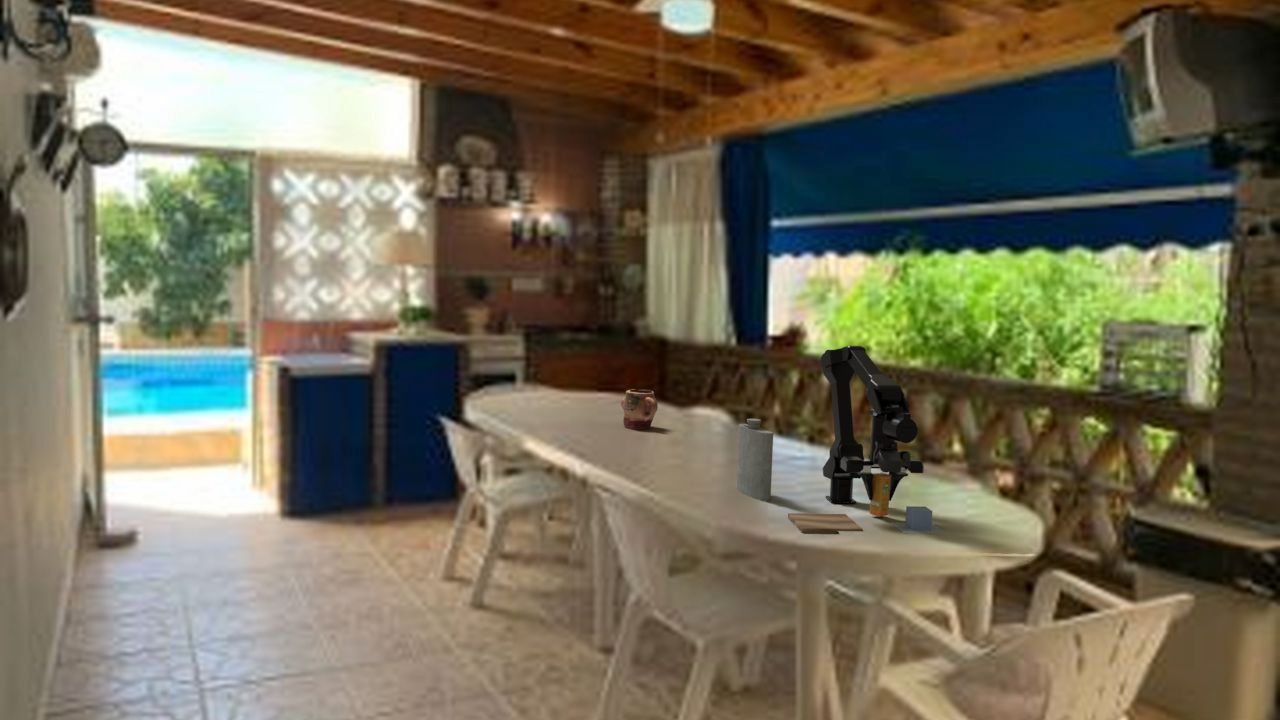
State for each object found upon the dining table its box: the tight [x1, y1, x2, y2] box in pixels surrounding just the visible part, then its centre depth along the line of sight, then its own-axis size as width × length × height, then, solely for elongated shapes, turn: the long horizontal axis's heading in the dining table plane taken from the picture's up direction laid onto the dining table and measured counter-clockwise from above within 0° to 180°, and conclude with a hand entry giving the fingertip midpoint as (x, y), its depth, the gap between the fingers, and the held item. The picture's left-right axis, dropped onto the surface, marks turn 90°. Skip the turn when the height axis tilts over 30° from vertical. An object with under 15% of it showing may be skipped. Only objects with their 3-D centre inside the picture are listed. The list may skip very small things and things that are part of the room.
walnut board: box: [787, 512, 863, 534], centre depth 235 cm, size 14×14×1 cm
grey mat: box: [889, 521, 948, 535], centre depth 232 cm, size 10×10×1 cm
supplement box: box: [869, 471, 891, 517], centre depth 241 cm, size 3×3×10 cm
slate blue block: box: [905, 505, 933, 531], centre depth 232 cm, size 4×4×4 cm
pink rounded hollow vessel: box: [620, 388, 659, 430], centre depth 370 cm, size 20×12×14 cm, turn 36°
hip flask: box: [736, 418, 774, 502], centre depth 265 cm, size 16×4×20 cm, turn 20°
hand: (879, 500), depth 241 cm, fingers closed on supplement box, 4 cm apart
